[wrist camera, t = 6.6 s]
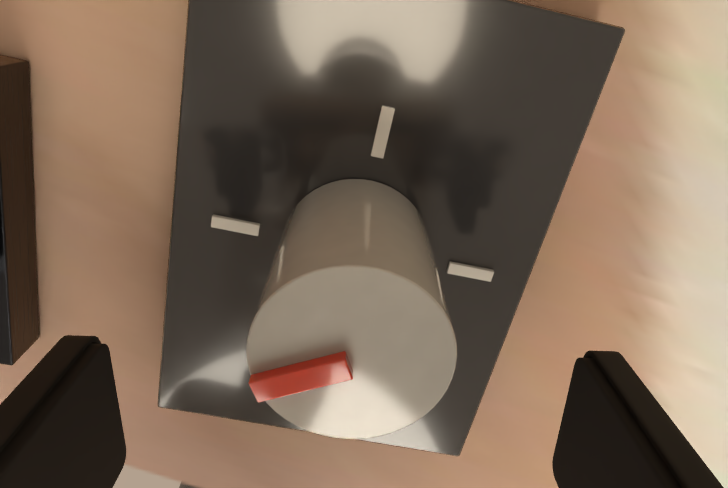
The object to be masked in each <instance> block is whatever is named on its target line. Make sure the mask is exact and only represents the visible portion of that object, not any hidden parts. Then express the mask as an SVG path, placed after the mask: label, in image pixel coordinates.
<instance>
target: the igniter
mask: <svg viewBox="0 0 728 488" xmlns="http://www.w3.org/2000/svg"><path fill="white" fill-rule="evenodd" d="M38 338H39V327H38V300H37V273H36V246H35V219H34V192H33V165H32V138H31V111H30V84H29V62H28V61H26V60H22V59H17V58H12V57H8V56H3V55H0V363H1V364H7V365H13V364H14V363H15V362H16V361H17V360H18V359H19V358H20V357H21V356H22V355H23V354H24V353H25V352H26V351H27V350H28V349H29V347H30V346H31V345H32V344H33V343H34V342H35V341H36V340H37V339H38Z"/></svg>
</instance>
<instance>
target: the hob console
mask: <svg viewBox="0 0 728 488" xmlns="http://www.w3.org/2000/svg"><path fill="white" fill-rule="evenodd" d="M624 32H625V29H624V28H623V27H619V26H615V25H611V24H607V23H603V22H599V21H595V20H591V19H586V18H582V17H578V16H574V15H570V14H566V13H562V12H558V11H554V10H550V9H546V8H542V7H538V6H533V5H529V4H525V3H521V2H517V1H513V0H188V13H187V27H186V40H185V53H184V66H183V79H182V92H181V105H180V118H179V131H178V145H177V158H176V171H175V184H174V197H173V210H172V223H171V236H170V249H169V263H168V276H167V289H166V302H165V315H164V328H163V341H162V354H161V367H160V381H159V394H158V407H161V408H167V409H173V410H180V411H186V412H192V413H198V414H204V415H210V416H216V417H222V418H228V419H234V420H240V421H246V422H252V423H258V424H264V425H270V426H277V427H283V428H289V429H295V430H301V431H307V430H304V429H302V428H300V427H298V426H296V425H294V424H292V423H291V422H289V421H287V420H286V419H284V418H283V417H282V416H280V415H279V414H278V413H277V412H275V411H274V410H273V409H272V408H271V407H270V406H269V405H268V404H267V403H266V401H264V402H259V403H258V402H257V400H256V398H255V396H254V394H253V392H252V390H251V388H250V386H249V379H250V376H251V375H250V372H249V368H248V364H247V355H246V346H247V337H248V334H249V330H250V326H251V323H252V320H253V317H254V314H255V312H256V309H257V306H258V303H259V300H260V297H261V294H262V291H263V288H264V285H265V282H266V280H267V277H268V274H269V271H270V268H271V265H272V262H273V259H274V256H275V253H276V250H277V248H278V245H279V242H280V239H281V236H282V233H283V230H284V227H285V224H286V222H287V220H288V217H289V216H290V214H291V212H292V211H293V209H294V208H295V207H296V205H297V204H298V203H299V202H300V201H301V200H302V199H303V198H304V197H305V196H306V195H308V194H309V193H311V192H312V191H313V190H315V189H317V188H319V187H321V186H323V185H326V184H328V183H331V182H335V181H339V180H346V179H364V180H371V181H375V182H378V183H382V184H384V185H387V186H389V187H391V188H393V189H394V190H396V191H398V192H399V193H401V194H402V195H403V196H405V197H406V198H407V199H408V200H409V201H410V202H411V203H412V204H413V205H414V206H415V208H416V209H417V211H418V212H419V214H420V215H421V217H422V219H423V221H424V224H425V227H426V230H427V233H428V237H429V241H430V244H431V248H432V252H433V255H434V259H435V263H436V266H437V270H438V274H439V277H440V281H441V285H442V289H443V292H444V296H445V300H446V303H447V307H448V311H449V314H450V318H451V322H452V325H453V329H454V333H455V338H456V343H457V360H456V367H455V371H454V374H453V378H452V380H451V382H450V384H449V387H448V389H447V390H446V392H445V393H444V395H443V397H442V398H441V399H440V401H439V402H438V403H437V404H436V405H435V406H434V407H433V408H432V409H431V410H430V411H429V412H428V413H427V414H426V415H425V416H423V417H422V418H420V419H419V420H417V421H416V422H414V423H413V424H411V425H409V426H407V427H405V428H403V429H400V430H398V431H395V432H393V433H390V434H386V435H383V436H378V437H372V438H365V439H355V440H361V441H367V442H374V443H380V444H386V445H392V446H398V447H404V448H410V449H416V450H422V451H428V452H434V453H440V454H446V455H452V456H459V455H460V453H461V451H462V448H463V445H464V443H465V440H466V438H467V435H468V433H469V430H470V428H471V425H472V422H473V420H474V417H475V415H476V412H477V410H478V407H479V404H480V402H481V399H482V397H483V394H484V392H485V389H486V386H487V384H488V381H489V379H490V376H491V374H492V371H493V369H494V366H495V363H496V361H497V358H498V356H499V353H500V351H501V348H502V345H503V343H504V340H505V338H506V335H507V333H508V330H509V327H510V325H511V322H512V320H513V317H514V315H515V312H516V310H517V307H518V304H519V302H520V299H521V297H522V294H523V292H524V289H525V286H526V284H527V281H528V279H529V276H530V274H531V271H532V268H533V266H534V263H535V261H536V258H537V256H538V253H539V250H540V248H541V245H542V243H543V240H544V238H545V235H546V233H547V230H548V227H549V225H550V222H551V220H552V217H553V215H554V212H555V209H556V207H557V204H558V202H559V199H560V197H561V194H562V191H563V189H564V186H565V184H566V181H567V179H568V176H569V174H570V171H571V168H572V166H573V163H574V161H575V158H576V156H577V153H578V150H579V148H580V145H581V143H582V140H583V138H584V135H585V132H586V130H587V127H588V125H589V122H590V120H591V117H592V115H593V112H594V109H595V107H596V104H597V102H598V99H599V97H600V94H601V91H602V89H603V86H604V84H605V81H606V79H607V76H608V73H609V71H610V68H611V66H612V63H613V61H614V58H615V55H616V53H617V50H618V48H619V45H620V43H621V40H622V38H623V35H624ZM307 432H310V431H307Z"/></svg>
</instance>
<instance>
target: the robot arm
mask: <svg viewBox="0 0 728 488" xmlns="http://www.w3.org/2000/svg"><path fill="white" fill-rule="evenodd" d="M125 458H126V444H125V439H124V433H123V427H122V421H121V415H120V409H119V403H118V398H117V392H116V386H115V380H114V374H113V368H112V363H111V357H110V351H109V347H108V346H107V345H106V344H101V342H100V340H99V339H98V337H96V336H72V335H67V336H64V337H62V338H61V339H60V340H59V341H58V342H57V343H56V345H55V346H54V347H53V348H52V349H51V350H50V351H49V352H48V353H47V354H46V355H45V357H44V358H43V359H42V360H41V361H40V362H39V363H38V364H37V365H36V366H35V367H34V369H33V370H32V371H31V372H30V373H29V374H28V375H27V376H26V377H25V378H24V379H23V381H22V382H21V383H20V384H19V385H18V386H17V387H16V388H15V389H14V390H13V391H12V393H11V394H10V395H9V396H8V397H7V398H6V399H5V400H4V401H3V402H2V403H1V405H0V488H112V487H113V486H114V484H115V482H116V480H117V478H118V476H119V474H120V472H121V470H122V468H123V466H124V463H125ZM553 473H554V477H555V480H556V482H557V485H558V487H559V488H723V486H722V485H721V484H720V482H719V481H718V480H717V479H716V477H715V476H714V475H713V473H712V472H711V471H710V469H709V468H708V467H707V466H706V464H705V463H704V462H703V460H702V459H701V458H700V456H699V455H698V454H697V453H696V451H695V450H694V449H693V447H692V446H691V445H690V443H689V442H688V441H687V440H686V438H685V437H684V436H683V434H682V433H681V432H680V430H679V429H678V428H677V426H676V425H675V424H674V423H673V421H672V420H671V419H670V417H669V416H668V415H667V413H666V412H665V411H664V410H663V408H662V407H661V406H660V404H659V403H658V402H657V400H656V399H655V398H654V397H653V395H652V394H651V393H650V391H649V390H648V389H647V387H646V386H645V385H644V384H643V382H642V381H641V380H640V378H639V377H638V376H637V374H636V373H635V372H634V371H633V369H632V368H631V367H630V365H629V364H628V363H627V361H626V360H625V359H624V357H623V356H622V355H621V354H620V353H619V352H615V351H588V352H586V354H585V355H584V358H578V359H577V360H576V362H575V365H574V370H573V374H572V378H571V382H570V387H569V391H568V395H567V400H566V404H565V408H564V413H563V417H562V421H561V426H560V430H559V434H558V439H557V443H556V447H555V452H554V456H553Z"/></svg>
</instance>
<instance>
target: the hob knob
mask: <svg viewBox="0 0 728 488" xmlns="http://www.w3.org/2000/svg"><path fill="white" fill-rule="evenodd" d="M246 355H247V364H248V368H249V372H250V375H251V376H250V379H249V386H250V388H251V390H252V392H253V394H254V396H255V398H256V400H257V402H258V403H259V402H264V401H266V403H267V404H268V405H269V406H270V407H271V408H272V409H273V410H274V411H275V412H277V413H278V414H279V415H280V416H282V417H283V418H284V419H286V420H287V421H289V422H291V423H292V424H294V425H296V426H298V427H300V428H302V429H304V430H307V431H310V432H312V433H315V434H318V435H323V436H327V437H332V438H340V439H365V438H372V437H378V436H383V435H386V434H390V433H393V432H395V431H398V430H400V429H403V428H405V427H407V426H409V425H411V424H413V423H414V422H416V421H417V420H419V419H420V418H422V417H423V416H425V415H426V414H427V413H428V412H429V411H430V410H431V409H432V408H433V407H434V406H435V405H436V404H437V403H438V402H439V401H440V399H441V398H442V397H443V395H444V393H445V392H446V390H447V389H448V387H449V384H450V382H451V380H452V378H453V374H454V371H455V367H456V360H457V343H456V338H455V333H454V329H453V325H452V322H451V318H450V314H449V311H448V307H447V303H446V300H445V296H444V292H443V289H442V285H441V281H440V277H439V274H438V270H437V266H436V263H435V259H434V255H433V252H432V248H431V244H430V241H429V237H428V233H427V230H426V227H425V224H424V221H423V219H422V217H421V215H420V214H419V212H418V211H417V209H416V208H415V206H414V205H413V204H412V203H411V202H410V201H409V200H408V199H407V198H406V197H405V196H403V195H402V194H401V193H399V192H398V191H396V190H394V189H393V188H391V187H389V186H387V185H384V184H382V183H378V182H375V181H371V180H364V179H346V180H339V181H335V182H331V183H328V184H326V185H323V186H321V187H319V188H317V189H315V190H313V191H312V192H311V193H309V194H308V195H306V196H305V197H304V198H303V199H302V200H301V201H300V202H299V203H298V204H297V205H296V207H295V208H294V209H293V211H292V212H291V214H290V216H289V217H288V220H287V222H286V224H285V227H284V230H283V233H282V236H281V239H280V242H279V245H278V248H277V250H276V253H275V256H274V259H273V262H272V265H271V268H270V271H269V274H268V277H267V280H266V282H265V285H264V288H263V291H262V294H261V297H260V300H259V303H258V306H257V309H256V312H255V314H254V317H253V320H252V323H251V326H250V330H249V334H248V337H247V346H246Z"/></svg>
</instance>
